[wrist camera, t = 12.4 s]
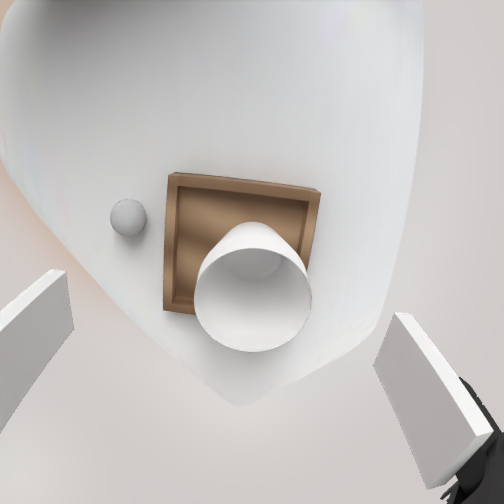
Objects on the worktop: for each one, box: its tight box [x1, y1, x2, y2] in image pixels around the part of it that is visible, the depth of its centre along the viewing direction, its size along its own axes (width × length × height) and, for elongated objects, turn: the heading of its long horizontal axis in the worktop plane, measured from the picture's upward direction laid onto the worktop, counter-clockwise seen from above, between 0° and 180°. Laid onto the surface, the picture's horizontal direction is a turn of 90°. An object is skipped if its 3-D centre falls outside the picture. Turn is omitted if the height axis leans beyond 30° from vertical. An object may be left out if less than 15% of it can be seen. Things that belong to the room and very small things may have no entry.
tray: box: [163, 172, 321, 315], centre depth 34 cm, size 15×15×3 cm
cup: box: [194, 222, 312, 352], centre depth 29 cm, size 9×9×12 cm
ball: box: [110, 199, 146, 236], centre depth 32 cm, size 4×4×4 cm
